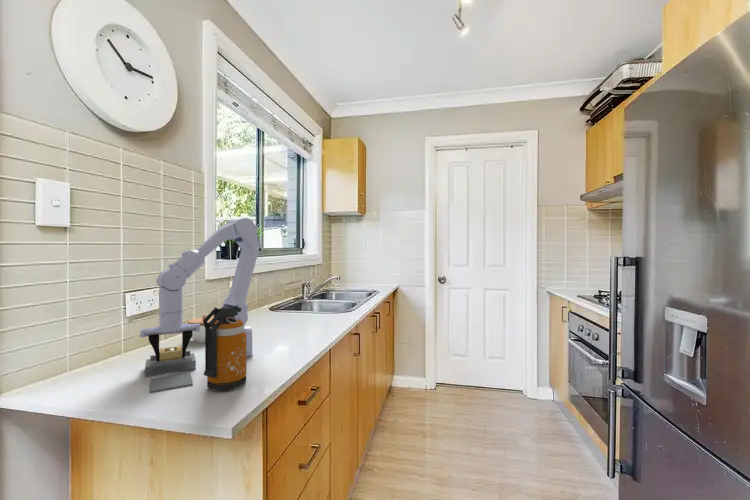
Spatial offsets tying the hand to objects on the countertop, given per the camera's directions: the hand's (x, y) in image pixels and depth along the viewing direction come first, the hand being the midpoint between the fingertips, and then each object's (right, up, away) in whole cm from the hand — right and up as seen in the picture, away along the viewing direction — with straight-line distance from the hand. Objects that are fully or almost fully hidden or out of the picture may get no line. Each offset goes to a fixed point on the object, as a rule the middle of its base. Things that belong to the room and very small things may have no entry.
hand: (171, 359), depth 98 cm
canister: (+21, -3, -13) cm, 25 cm away
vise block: (0, -3, 0) cm, 3 cm away
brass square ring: (0, 0, 0) cm, 0 cm away
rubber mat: (+6, -3, -10) cm, 12 cm away
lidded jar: (-6, -3, +30) cm, 31 cm away
